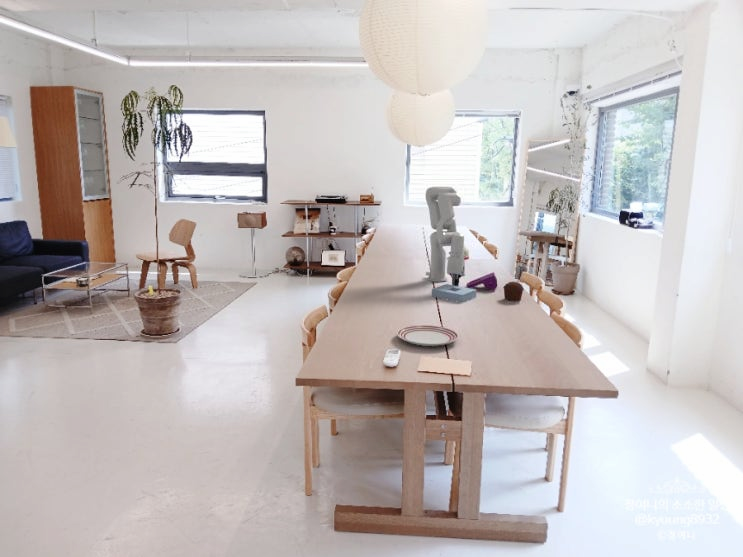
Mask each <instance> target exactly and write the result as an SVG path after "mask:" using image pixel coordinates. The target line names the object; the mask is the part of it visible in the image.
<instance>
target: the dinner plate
mask: <svg viewBox="0 0 743 557" xmlns="http://www.w3.org/2000/svg"><path fill="white" fill-rule="evenodd" d="M396 336H397V337H398V338H399V339H400V340H402V341H405V343H406V342H407V343H409V344H412V345H415V344H416V345H415V346H419V345H422V346H421V347H428V346H432V347H440V346H439V345H441V346H443V345H445V346H446V345H449V344H451V343H452V342H455V341H456V340H458V338H459V337H460V335H459V333H458V332H456V331H455V330H453V329H451V328H448V327H444V326H438V325H428V324H416V325H409V326H404V327H401V328H399V329H398V330H397V331H396Z"/></svg>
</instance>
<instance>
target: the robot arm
mask: <svg viewBox="0 0 743 557" xmlns="http://www.w3.org/2000/svg"><path fill="white" fill-rule="evenodd" d="M425 201H426V204H427V207H428V212H429V220H430V228H431V229H433V230H435V231H433V232H431V233H430V236H429V242H430V271H426V272H425V276H427V281H430V282H435V283H437V282H438V283H441V282H443V283H444V282H446V281H448V278H447V277H446V274H448V275H449V276H450V278H451V279H452V277H453V274H457V275H456V280H455V285H460V279H461V278H462V277H465V276H466V274H465V271H466V263H465V261H466V260H464V257H463V249H464V245H465V243H464V242H465V235H463V234H461V233H460V232H458V231H457V223H456V218H455V216H456V215H455V211H454V207H459V206H460V204H461V201H462V199H461V196H460V194H459V192H458V191H457V190H456V189H455V188H453V187H452V186H431V187H428V188H427V189H426V190H425ZM443 247H450V251H448V255H449V257H448V260H447V261H446V259H447V258H446V256H447V253H446V250H445V249H444V248H443ZM446 262H447V265H446Z"/></svg>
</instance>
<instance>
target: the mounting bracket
mask: <svg viewBox="0 0 743 557" xmlns="http://www.w3.org/2000/svg"><path fill="white" fill-rule="evenodd" d="M497 279H498V278H497V276H496V274H495V272H494V271H493V272H491V273H489V274H485V275H483V276H480V277H478V278H475V279H473V280H471V281H470V280H469V282H467V283H466V284H465V285H466V288H470V289H473V288H475V287H477V286H480V285H482V284H483V287H484V289H485V290H487V291H490V290H493V291H495V290H496V289H497V288H498V280H497Z"/></svg>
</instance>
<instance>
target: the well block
mask: <svg viewBox="0 0 743 557" xmlns="http://www.w3.org/2000/svg"><path fill="white" fill-rule="evenodd" d="M431 296H432V297H431V298H436V297H437V299H441V298H443V299H442V300H446V299H448V300H447V301H451V300H452V301H451V302H456V301H457V303H460V302H461V304H463V303H465V302H468V301H471V300H473V299H475V298H477V289H475V288H467V287H463V286H454V285H452V284H449V283H446V284H443V285H439V286H437V287H436V286H435V287H434V288H431ZM474 297H475V298H474ZM472 298H473V299H472ZM467 300H468V301H467Z"/></svg>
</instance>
